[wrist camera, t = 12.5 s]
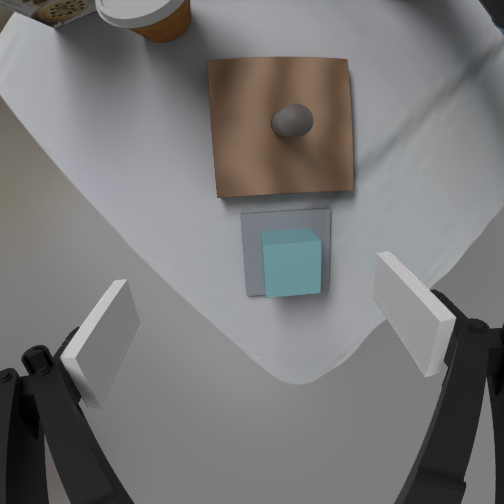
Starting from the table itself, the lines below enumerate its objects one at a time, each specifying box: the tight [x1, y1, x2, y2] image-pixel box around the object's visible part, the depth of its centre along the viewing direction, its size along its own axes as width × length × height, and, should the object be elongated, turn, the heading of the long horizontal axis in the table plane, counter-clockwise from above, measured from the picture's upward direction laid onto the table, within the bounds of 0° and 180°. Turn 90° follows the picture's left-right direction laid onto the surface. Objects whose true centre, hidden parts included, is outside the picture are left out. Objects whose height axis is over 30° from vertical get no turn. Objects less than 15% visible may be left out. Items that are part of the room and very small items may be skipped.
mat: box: [241, 208, 330, 296], centre depth 40 cm, size 11×11×1 cm
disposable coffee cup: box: [95, 0, 191, 42], centre depth 24 cm, size 10×10×12 cm
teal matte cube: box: [260, 228, 321, 298], centre depth 38 cm, size 6×7×5 cm
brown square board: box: [207, 57, 353, 198], centre depth 30 cm, size 16×16×10 cm
